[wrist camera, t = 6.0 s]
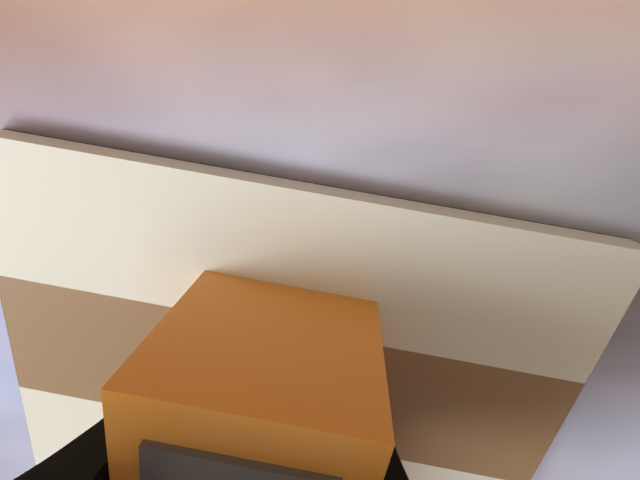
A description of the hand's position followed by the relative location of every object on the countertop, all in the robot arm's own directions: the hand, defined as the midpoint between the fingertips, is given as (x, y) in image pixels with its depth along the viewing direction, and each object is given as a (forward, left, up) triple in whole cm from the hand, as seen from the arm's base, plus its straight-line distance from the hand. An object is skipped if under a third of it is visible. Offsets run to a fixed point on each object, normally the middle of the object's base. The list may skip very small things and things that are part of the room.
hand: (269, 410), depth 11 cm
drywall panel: (0, +5, -2) cm, 5 cm away
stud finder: (0, +1, -1) cm, 1 cm away
